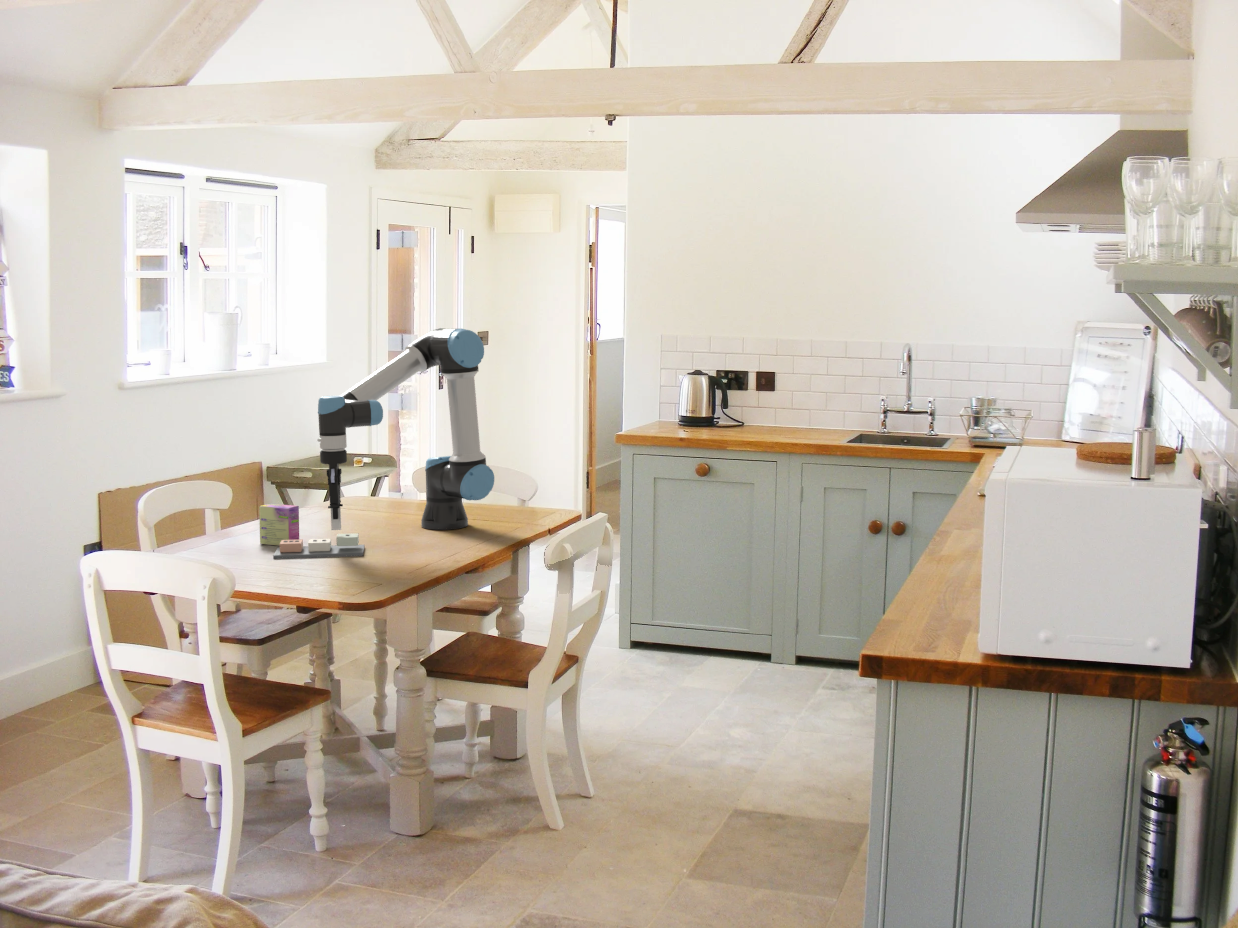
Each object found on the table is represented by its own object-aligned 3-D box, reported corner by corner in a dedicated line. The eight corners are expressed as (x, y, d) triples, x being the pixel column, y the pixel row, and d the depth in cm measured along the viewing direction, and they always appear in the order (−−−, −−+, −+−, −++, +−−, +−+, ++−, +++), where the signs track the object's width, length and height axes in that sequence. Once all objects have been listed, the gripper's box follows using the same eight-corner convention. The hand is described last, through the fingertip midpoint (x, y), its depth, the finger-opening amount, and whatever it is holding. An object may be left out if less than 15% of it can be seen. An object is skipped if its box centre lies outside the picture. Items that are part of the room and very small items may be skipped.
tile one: (358, 541, 354) (358, 532, 353) (357, 545, 348) (357, 536, 347) (337, 542, 353) (337, 533, 352) (336, 546, 347) (336, 537, 346)
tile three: (303, 547, 351) (302, 538, 351) (301, 551, 345) (301, 542, 345) (282, 548, 350) (281, 539, 350) (279, 552, 344) (279, 543, 344)
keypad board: (364, 547, 357) (364, 544, 357) (362, 555, 345) (362, 552, 345) (278, 550, 353) (278, 547, 353) (273, 558, 341) (273, 555, 341)
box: (300, 543, 364) (299, 505, 362) (289, 546, 358) (287, 508, 357) (271, 541, 367) (269, 503, 365) (259, 544, 362) (258, 506, 360)
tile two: (331, 546, 352) (330, 537, 352) (329, 550, 347) (329, 541, 346) (310, 547, 351) (309, 538, 351) (308, 551, 346) (308, 542, 345)
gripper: (321, 447, 352) (325, 525, 355) (317, 452, 339) (321, 534, 342) (348, 446, 353) (351, 524, 356) (344, 452, 340) (347, 533, 344)
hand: (336, 529), depth 349 cm, fingers closed
